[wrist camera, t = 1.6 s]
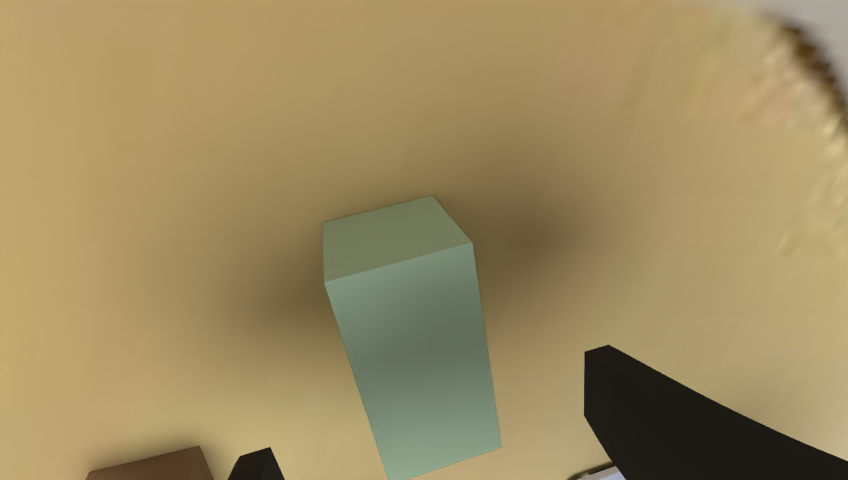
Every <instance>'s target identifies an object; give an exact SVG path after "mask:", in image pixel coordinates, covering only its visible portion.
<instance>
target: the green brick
mask: <svg viewBox="0 0 848 480" xmlns="http://www.w3.org/2000/svg"><path fill="white" fill-rule="evenodd" d="M322 237H323V271H324V285H325V288H326V291H327V294H328V297H329V300H330V303H331V306H332V309H333V312H334V315H335V318H336V321H337V324H338V328H339V331H340V334H341V337H342V340H343V343H344V346H345V349H346V352H347V355H348V358H349V361H350V364H351V367H352V371H353V374H354V377H355V380H356V383H357V386H358V389H359V392H360V395H361V398H362V401H363V404H364V407H365V410H366V413H367V417H368V420H369V423H370V426H371V429H372V432H373V435H374V438H375V441H376V444H377V447H378V450H379V453H380V456H381V460H382V463H383V466H384V469H385V472H386V475H387V478H388V480H408V479H411V478H413V477H416V476H419V475H422V474H425V473H428V472H431V471H434V470H437V469H440V468H443V467H446V466H448V465H451V464H454V463H457V462H460V461H463V460H466V459H469V458H472V457H475V456H478V455H481V454H483V453H486V452H489V451H492V450H495V449H498V448H501V447H502V445H501V438H500V431H499V424H498V417H497V411H496V404H495V397H494V390H493V383H492V376H491V369H490V362H489V355H488V348H487V341H486V334H485V327H484V320H483V313H482V306H481V299H480V292H479V285H478V278H477V271H476V264H475V257H474V250H473V243H472V241H471V240H470V239H469V238H468V237H467V236H466V234H465V233H464V232H463V231H462V230H461V229H460V227H459V226H458V225H457V224H456V223H455V222H454V220H453V219H452V218H451V217H450V216H449V215H448V213H447V212H446V211H445V210H444V209H443V208H442V206H441V205H440V204H439V203H438V202H437V201H436V199H435V198H434V197H433V196H428V197H424V198H420V199H415V200H411V201H407V202H403V203H399V204H395V205H391V206H387V207H383V208H379V209H375V210H371V211H367V212H363V213H359V214H355V215H351V216H347V217H343V218H339V219H335V220H331V221H327V222H323V223H322Z"/></svg>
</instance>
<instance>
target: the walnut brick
mask: <svg viewBox="0 0 848 480" xmlns="http://www.w3.org/2000/svg"><path fill="white" fill-rule="evenodd" d="M86 480H214V479H213V477H212V474H211V472H210V470H209V467H208V465H207V463H206V461H205V458H204V456H203V454H202V451H201V449H200V447H199V446H196V447H192V448H188V449H184V450H180V451H176V452H171V453H167V454H163V455H159V456H155V457H151V458H147V459H142V460H138V461H134V462H130V463H126V464H122V465H117V466H113V467H109V468H105V469H101V470H97V471H93V472H89V474H88V476H87V478H86Z"/></svg>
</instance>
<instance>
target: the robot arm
mask: <svg viewBox="0 0 848 480" xmlns="http://www.w3.org/2000/svg"><path fill="white" fill-rule="evenodd" d="M584 416H585V418H586V420H587V421H588V423H589V425H590V426H591V428H592V430H593V432H594V433H595V435H596V437H597V438H598V440H599V442H600V443H601V445H602V447H603V448H604V450H605V451H606V453H607V455H608V456H609V458H610V459H611V460H612V462H613V463H614V465H615V466H614V467H611V468H608V469H606V470H603V471H600V472H597V473H594V474H591V475H588V476H585V477H582V478H580V479H577V480H848V461H846V460H843V459H841V458H838V457H836V456H833V455H831V454H829V453H826V452H824V451H821V450H819V449H816V448H814V447H812V446H809V445H807V444H804V443H802V442H800V441H798V440H795V439H793V438H791V437H788V436H786V435H784V434H782V433H780V432H777V431H775V430H773V429H771V428H769V427H767V426H765V425H762V424H760V423H758V422H756V421H754V420H752V419H750V418H748V417H745V416H743V415H741V414H739V413H737V412H735V411H733V410H731V409H729V408H727V407H725V406H723V405H721V404H719V403H717V402H715V401H713V400H711V399H709V398H707V397H705V396H703V395H701V394H699V393H698V392H696V391H694V390H692V389H690V388H688V387H686V386H684V385H682V384H680V383H679V382H677V381H675V380H673V379H671V378H669V377H667V376H666V375H664V374H662V373H660V372H658V371H656V370H654V369H653V368H651V367H649V366H647V365H645V364H643V363H642V362H640V361H638V360H636V359H634V358H632V357H631V356H629V355H627V354H625V353H623V352H621V351H619V350H618V349H616V348H614V347H612V346H610V345H606V346H602V347H599V348H596V349H592V350H589V351H586V352H585V368H584ZM228 480H285V479H284V477H283V475H282V472H281V470H280V468H279V466H278V463H277V461H276V459H275V457H274V455H273V452H272V450H271V448H270V447H269V448H265V449H262V450H259V451H255V452H252V453H249V454H245V455H242V456H240V457H239V459H238V460H237V461H236V463H235V465H234V467H233V470H232V472H231V474H230V476H229V478H228Z"/></svg>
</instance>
